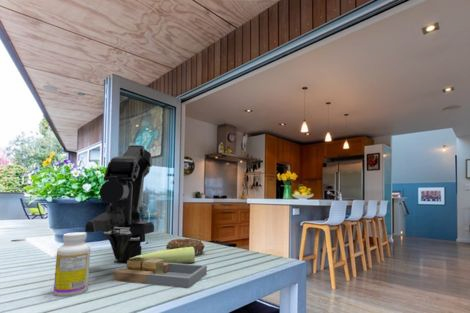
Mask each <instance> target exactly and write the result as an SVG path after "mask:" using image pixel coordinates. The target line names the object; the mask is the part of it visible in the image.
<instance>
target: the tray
mask: <svg viewBox="0 0 470 313" xmlns="http://www.w3.org/2000/svg"><path fill="white" fill-rule="evenodd" d="M207 269H208V266H207V265H203V264H193V263H182V264H180V263H169V270H168V272H167V273H165V274H164V275H161V274H150V273H149V274H147V284H146V285H153V286H163V287H172V288H174V287H175V288H182V289H184V288H185V289H190V288H191V287H192V286H194V285H195V284H196V283H197V282H198V281H199V280H201V279H202V278H203V277H205V276H206V275H207V271H208V270H207Z"/></svg>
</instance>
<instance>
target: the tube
mask: <svg viewBox="0 0 470 313" xmlns="http://www.w3.org/2000/svg"><path fill="white" fill-rule="evenodd" d="M135 257H141V258H149V259H150V258H154V259H164V262H165V263H180V264H194V263H195V259H196V255H195V250H194V247H185V248H177V249H170V250H167V249H164V250H158V251H154V252H153V251H152V252H149V253H144V254H141V255H139V256H135ZM135 257H133V258H135ZM133 258H129V259H133Z"/></svg>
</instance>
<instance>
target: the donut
mask: <svg viewBox="0 0 470 313" xmlns="http://www.w3.org/2000/svg"><path fill="white" fill-rule="evenodd" d="M185 247H194V250H195V256H197V255H199V254H200V255H201V253H202V252H203V251H204V249H205V245H204V243H203V242H202V241H201V240H199V239H195V238H192V239H191V238H175V239H171V240H170V241H168V242H167V244H166V247H165V250H170V249H177V248H185Z"/></svg>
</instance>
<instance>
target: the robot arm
mask: <svg viewBox="0 0 470 313" xmlns="http://www.w3.org/2000/svg"><path fill="white" fill-rule="evenodd" d="M152 166H153V158H152V154H151V153H150V152H149V151H148V150H146V149H145V146H143V145H140V144H139V145H137V144H136V145H135V144H134V145H133V144H132V145H129V146H128V148H127V149H126V150H125V152H124V153H123V155H120V156H114V157H112V158H111V159H110V161H109V162H108V164H107V167H106V170H105V172H104V176H103V181H106V182H103V184H102V185H101V187H100V189H99V197H100V198H101V200H102V201H104V203H108V204H109V205H106V207H105V212H103V213H100V214H98V215H97V216H95V217H94V218H92V220H88V221H87V222H86V224H85V225H84V232H85V233H95V232H103V233H101V235H102V236H103V237H105V238H106V239H108V241H109V243H110V246H111V249H112V253H113V255H114V259H115V260H113V263H118V264H119V263H120V264H127V260H130V259H129V258H133V257H135V256H139V255H142V246H141V243H145V242H146V235H147V234H151V233H154V232H155V225H154V223H153V222H152V221H143V220H142V217H141V215H140V206H141V200H142V199H141V198H142V194H143V193H142V192H143V186H144V180H145V177H147V175H149V173H150V169H151V168H152Z"/></svg>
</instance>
